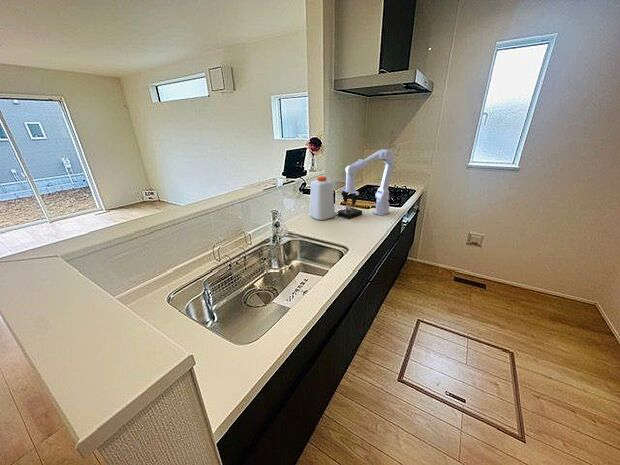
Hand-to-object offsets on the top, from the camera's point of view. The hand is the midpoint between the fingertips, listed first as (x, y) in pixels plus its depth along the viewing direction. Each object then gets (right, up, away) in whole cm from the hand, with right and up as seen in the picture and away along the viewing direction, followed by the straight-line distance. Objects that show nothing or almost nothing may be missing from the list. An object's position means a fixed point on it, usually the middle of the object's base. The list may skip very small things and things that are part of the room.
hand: (349, 203), depth 174 cm
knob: (0, -5, +5) cm, 7 cm away
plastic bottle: (-19, -9, +5) cm, 21 cm away
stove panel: (+1, -8, +6) cm, 10 cm away
